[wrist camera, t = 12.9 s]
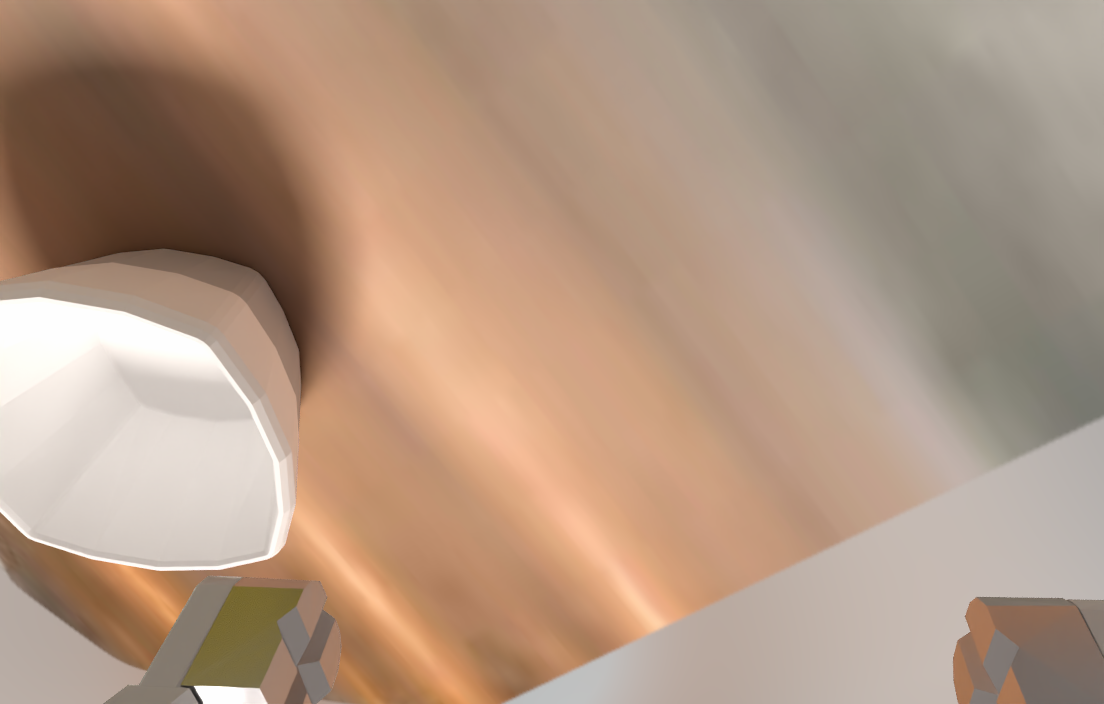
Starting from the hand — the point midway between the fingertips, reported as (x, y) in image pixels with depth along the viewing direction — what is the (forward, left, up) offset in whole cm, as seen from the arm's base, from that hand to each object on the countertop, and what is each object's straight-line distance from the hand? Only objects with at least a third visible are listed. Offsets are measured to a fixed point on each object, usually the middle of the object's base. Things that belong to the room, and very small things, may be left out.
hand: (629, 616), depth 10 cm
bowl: (+26, +15, -29) cm, 42 cm away
